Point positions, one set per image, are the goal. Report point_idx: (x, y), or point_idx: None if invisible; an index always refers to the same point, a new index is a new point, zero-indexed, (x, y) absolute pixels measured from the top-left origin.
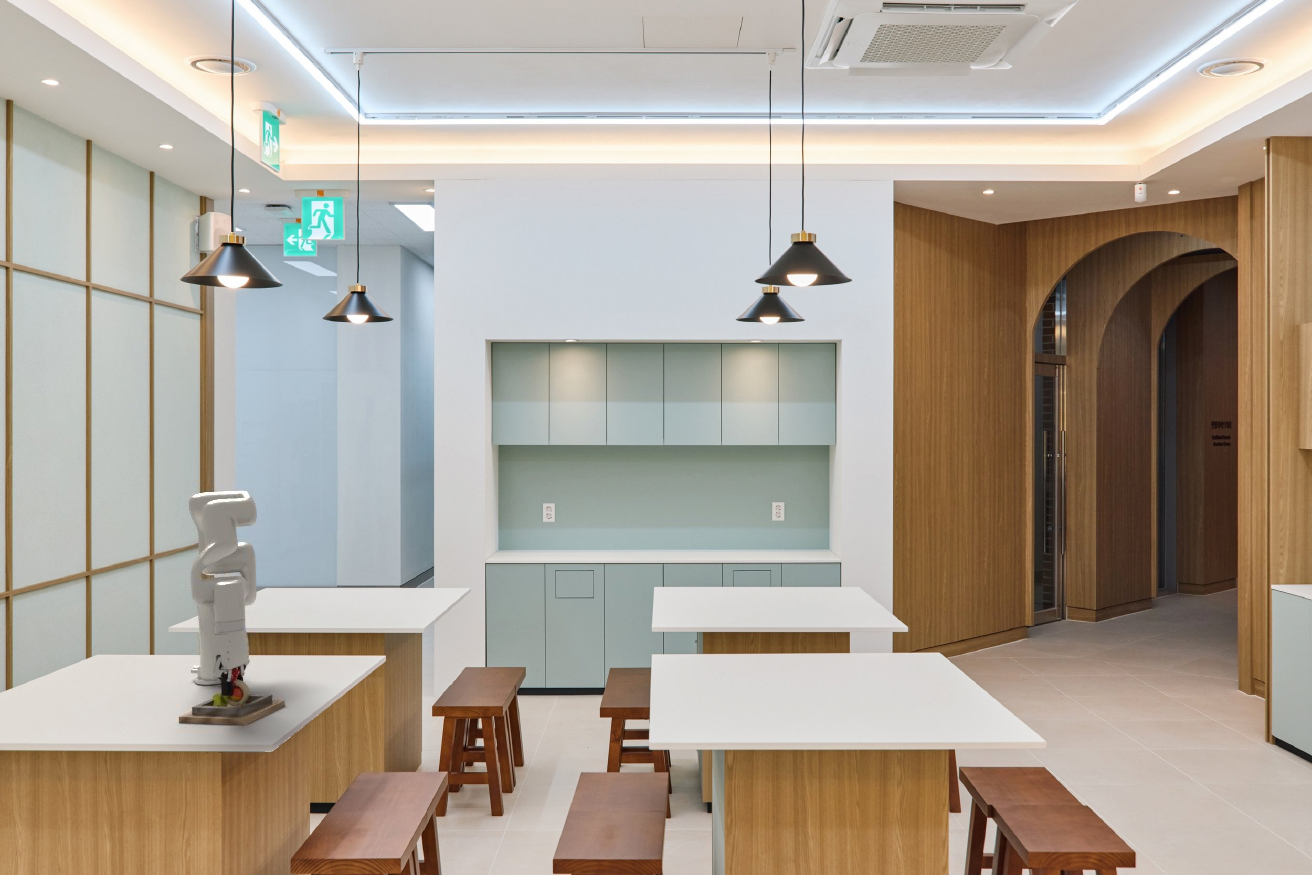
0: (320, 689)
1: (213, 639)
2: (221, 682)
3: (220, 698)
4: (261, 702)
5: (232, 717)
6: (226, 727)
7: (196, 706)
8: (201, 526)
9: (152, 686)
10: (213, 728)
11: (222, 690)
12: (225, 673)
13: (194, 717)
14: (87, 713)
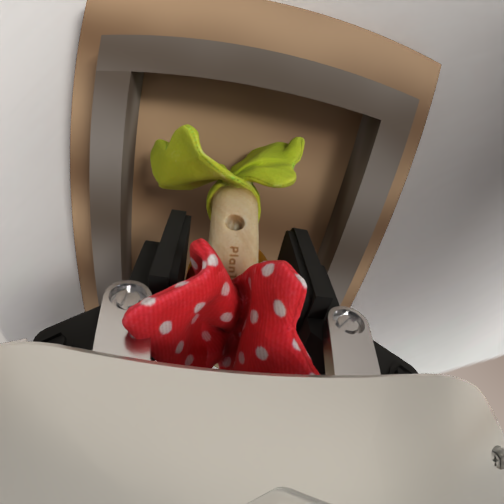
0: (457, 344)
1: None
2: (152, 268)
3: (187, 181)
4: None
5: (94, 273)
6: (58, 261)
7: (115, 53)
8: None
9: None
10: (38, 220)
11: (143, 248)
12: (286, 293)
13: (73, 86)
14: None
